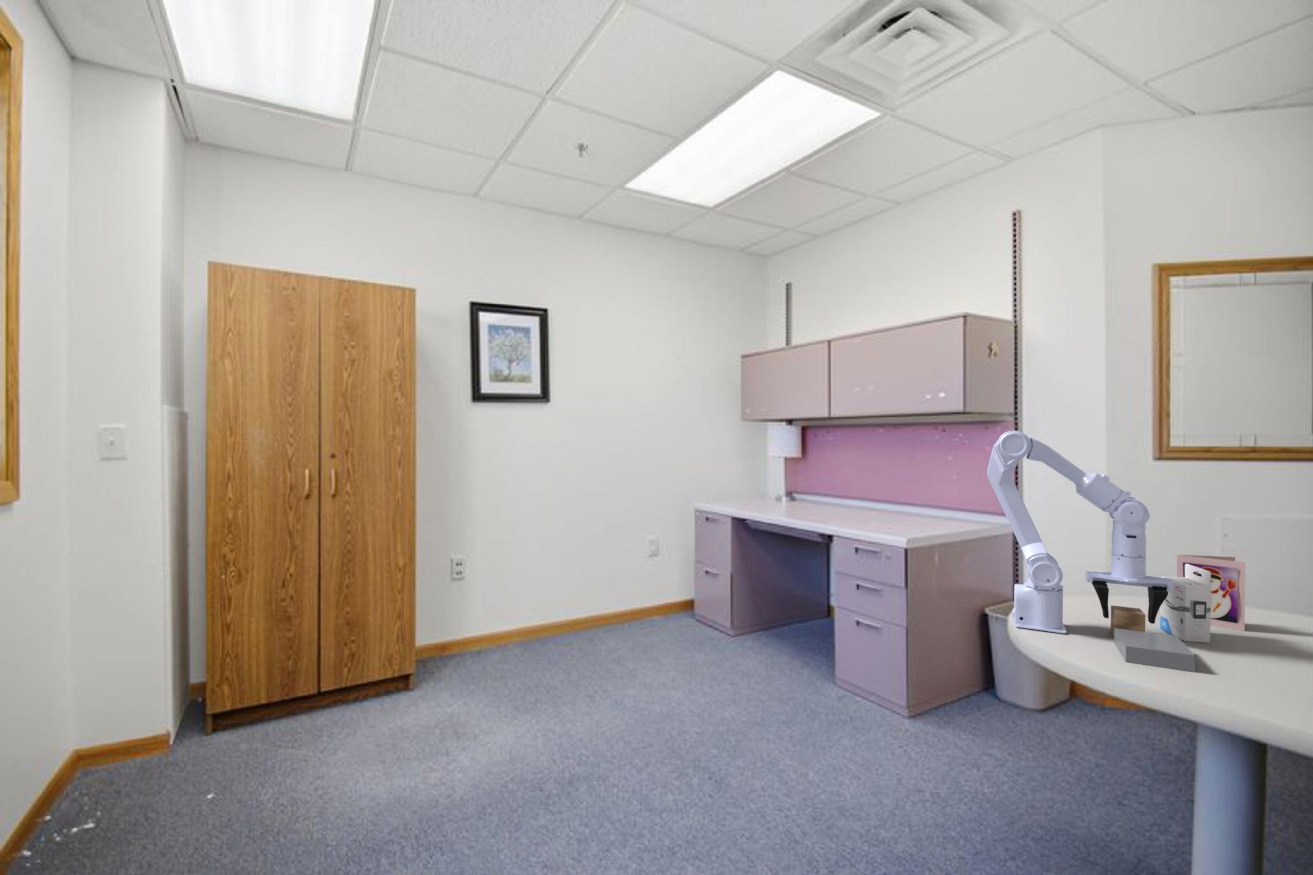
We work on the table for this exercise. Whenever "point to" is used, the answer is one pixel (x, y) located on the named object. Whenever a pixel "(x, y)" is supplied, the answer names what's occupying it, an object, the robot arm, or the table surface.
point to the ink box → (1188, 606)
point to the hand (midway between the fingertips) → (1128, 619)
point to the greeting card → (1221, 588)
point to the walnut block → (1127, 619)
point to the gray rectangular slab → (1154, 649)
